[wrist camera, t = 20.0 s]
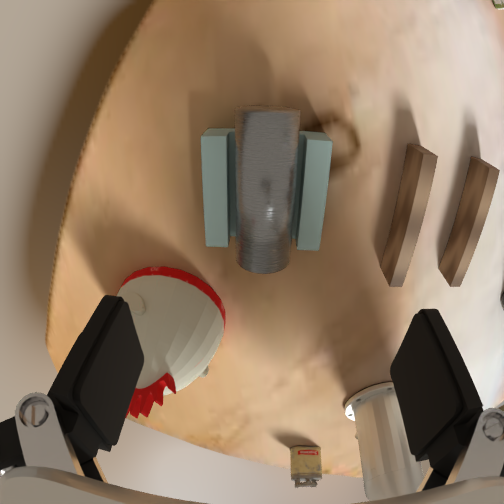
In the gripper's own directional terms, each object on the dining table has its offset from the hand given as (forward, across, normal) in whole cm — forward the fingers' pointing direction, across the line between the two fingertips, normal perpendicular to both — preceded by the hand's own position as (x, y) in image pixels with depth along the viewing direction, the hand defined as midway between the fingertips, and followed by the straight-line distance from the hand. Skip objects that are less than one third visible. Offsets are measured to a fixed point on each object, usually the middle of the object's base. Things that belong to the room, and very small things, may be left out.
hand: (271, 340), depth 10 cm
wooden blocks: (+21, -18, +4) cm, 28 cm away
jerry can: (+23, -12, +62) cm, 67 cm away
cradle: (+21, 0, +2) cm, 21 cm away
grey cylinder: (+20, 0, +1) cm, 20 cm away
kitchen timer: (+22, +12, +19) cm, 31 cm away
